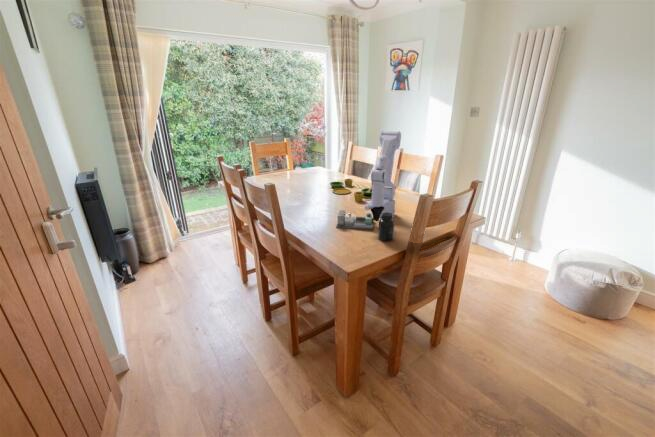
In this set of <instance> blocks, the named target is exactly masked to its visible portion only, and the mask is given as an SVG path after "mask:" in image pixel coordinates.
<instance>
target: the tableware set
mask: <svg viewBox="0 0 655 437" xmlns="http://www.w3.org/2000/svg"><path fill="white" fill-rule="evenodd" d="M353 180H354V179H352V178H345V179H344V182H342V181H330V183H329V185H331V187H332V188H333V189H332V191H331V192H332V193H334V194H336V195H348V194H350V193H351V192H352V191H351V189H349V187H352V186H353V188H354V189H355V190H357V191H355V192H354V193H353V195H354V201H355V202H357V203H360V202H361V203H362V202H363V201H365V202H370V201H371V199H372V184H371V185H370V187H368V186H365V185H364V184H362V183H359V184H358V183H356V184H355V185H354V184H353ZM343 186H345V187H346V188H343ZM347 187H348V188H347ZM359 189H361V190H360V191H358V190H359Z"/></svg>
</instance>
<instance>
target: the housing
mask: <svg viewBox="0 0 655 437" xmlns="http://www.w3.org/2000/svg"><path fill="white" fill-rule="evenodd" d="M354 219H355V214H354V213H350V212H348V213H346V214H345V224H349V225H354Z"/></svg>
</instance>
